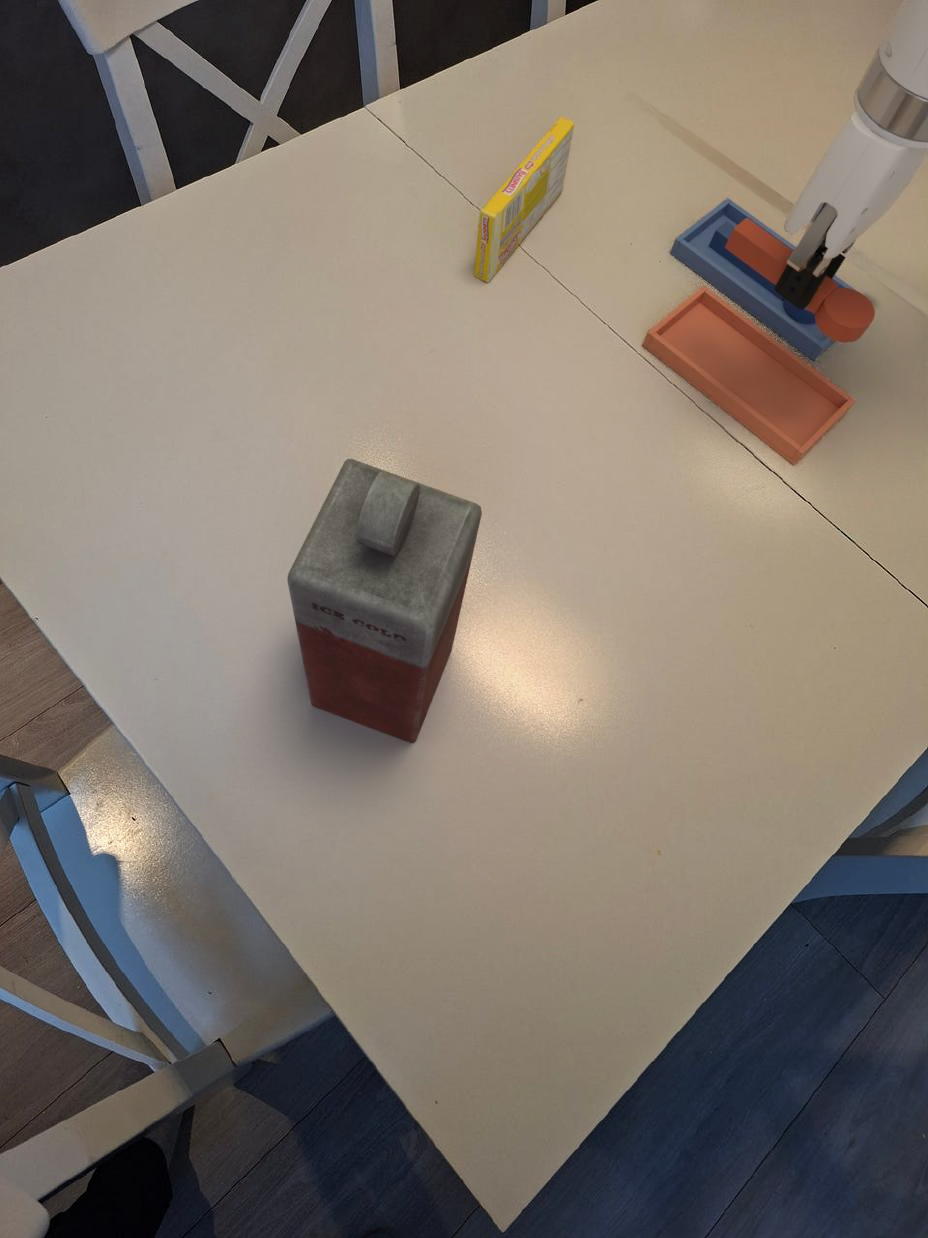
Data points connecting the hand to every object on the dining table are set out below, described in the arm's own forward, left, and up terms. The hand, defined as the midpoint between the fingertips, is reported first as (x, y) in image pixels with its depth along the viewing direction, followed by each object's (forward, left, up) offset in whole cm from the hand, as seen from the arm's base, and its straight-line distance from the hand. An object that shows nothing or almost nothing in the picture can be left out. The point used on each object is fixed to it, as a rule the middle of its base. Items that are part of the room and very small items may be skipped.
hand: (799, 289), depth 77 cm
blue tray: (+6, -12, -12) cm, 18 cm away
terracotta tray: (0, 0, -12) cm, 12 cm away
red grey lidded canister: (+3, +48, -13) cm, 50 cm away
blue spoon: (+6, -12, -12) cm, 18 cm away
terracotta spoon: (0, 0, 0) cm, 0 cm away
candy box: (+28, +3, -13) cm, 31 cm away
